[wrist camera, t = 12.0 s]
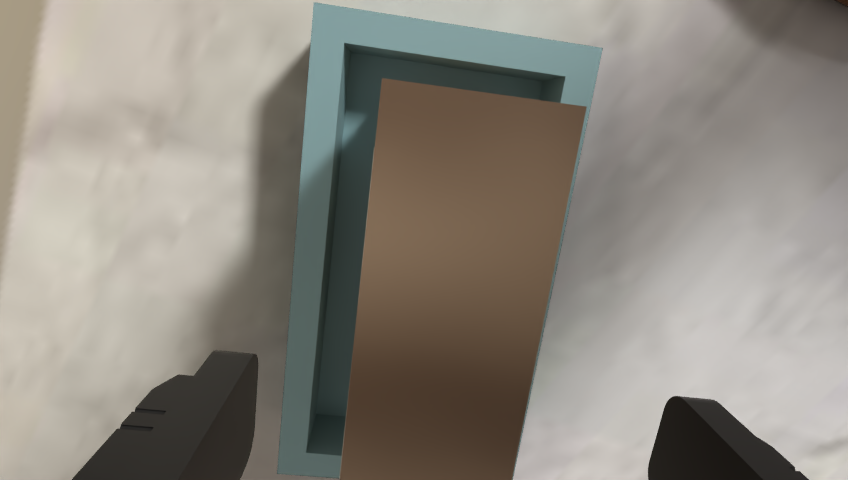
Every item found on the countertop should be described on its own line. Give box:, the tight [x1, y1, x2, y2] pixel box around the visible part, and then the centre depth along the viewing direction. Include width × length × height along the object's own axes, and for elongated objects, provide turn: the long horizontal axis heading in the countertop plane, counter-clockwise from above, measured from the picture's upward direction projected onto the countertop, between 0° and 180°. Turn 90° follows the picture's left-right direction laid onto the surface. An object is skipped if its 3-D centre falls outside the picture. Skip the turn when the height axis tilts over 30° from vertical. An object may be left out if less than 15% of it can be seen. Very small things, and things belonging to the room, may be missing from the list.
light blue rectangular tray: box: [277, 2, 603, 480], centre depth 19 cm, size 16×9×4 cm, turn 172°
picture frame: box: [339, 78, 587, 480], centre depth 15 cm, size 12×4×9 cm, turn 173°
